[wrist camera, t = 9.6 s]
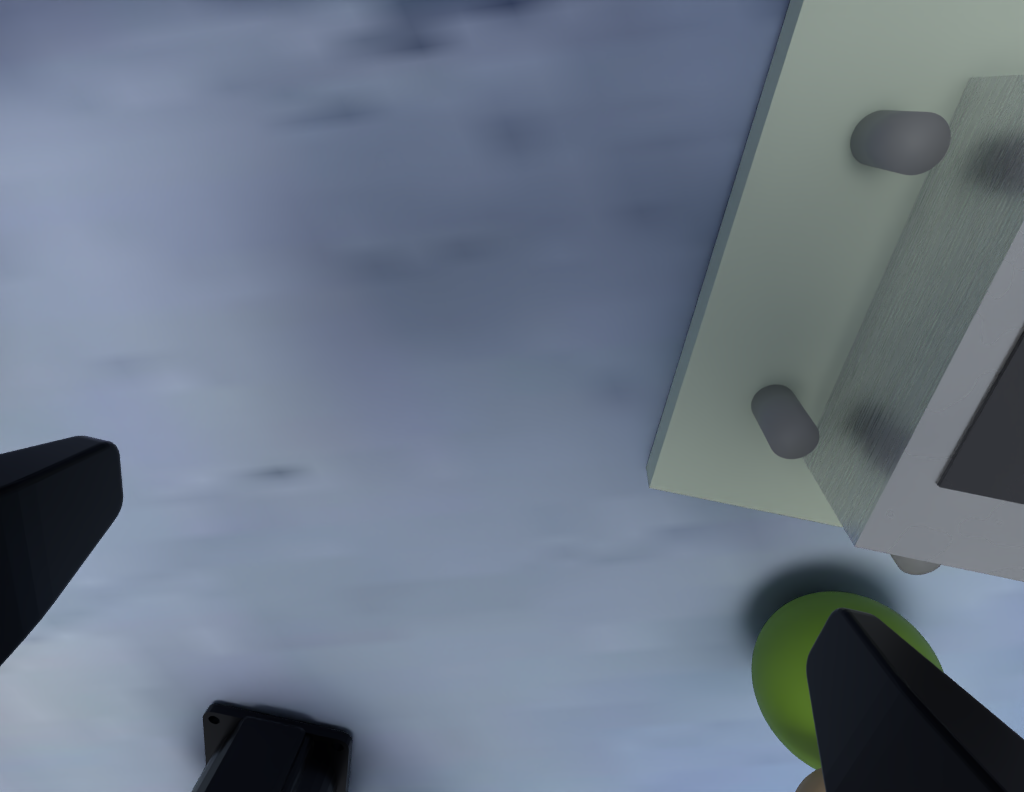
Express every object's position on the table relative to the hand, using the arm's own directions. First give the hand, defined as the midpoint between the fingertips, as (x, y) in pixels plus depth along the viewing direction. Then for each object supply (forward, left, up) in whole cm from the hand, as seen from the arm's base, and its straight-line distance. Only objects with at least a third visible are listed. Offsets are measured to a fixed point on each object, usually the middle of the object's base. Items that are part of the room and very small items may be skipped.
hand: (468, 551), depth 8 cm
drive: (+2, -12, -11) cm, 16 cm away
